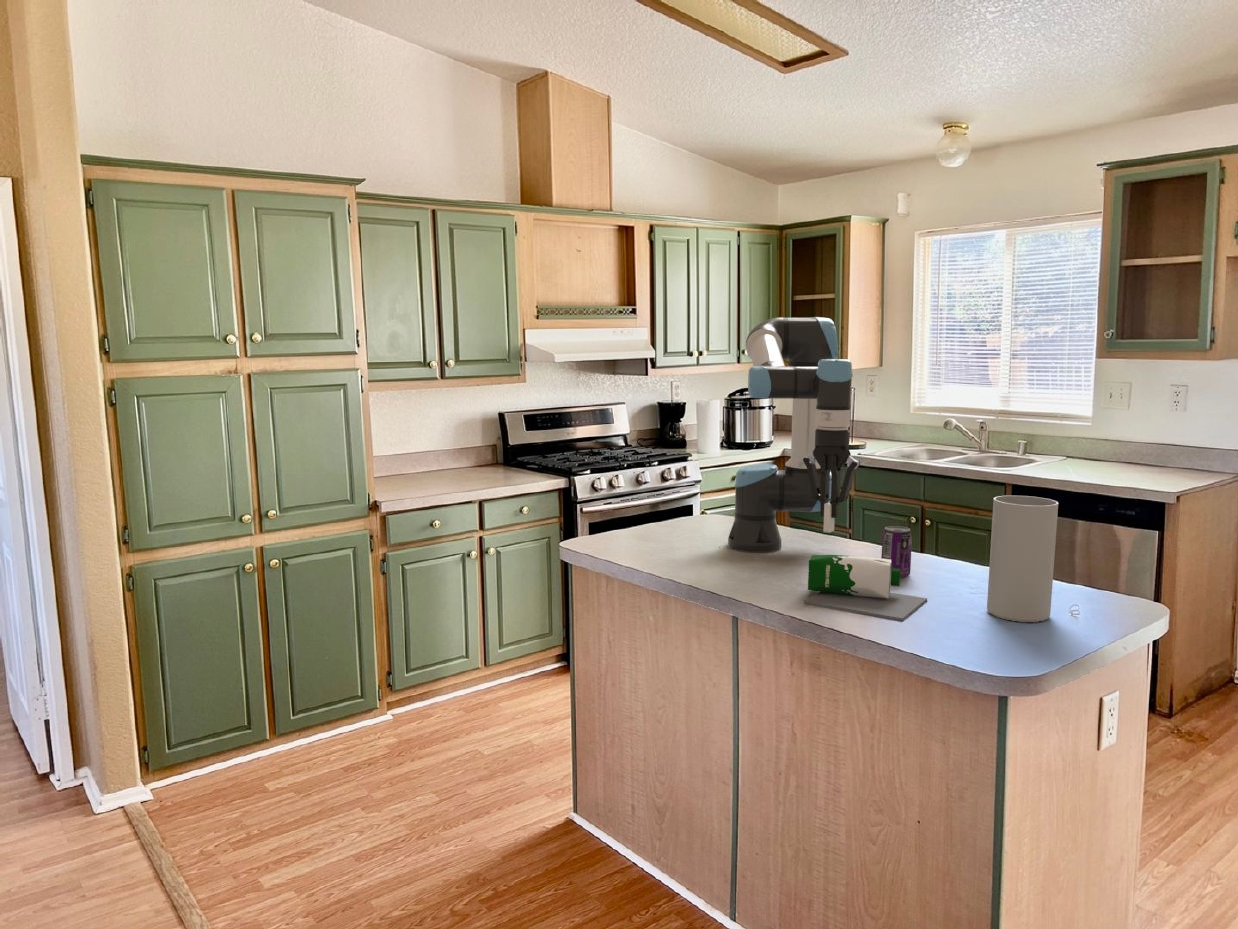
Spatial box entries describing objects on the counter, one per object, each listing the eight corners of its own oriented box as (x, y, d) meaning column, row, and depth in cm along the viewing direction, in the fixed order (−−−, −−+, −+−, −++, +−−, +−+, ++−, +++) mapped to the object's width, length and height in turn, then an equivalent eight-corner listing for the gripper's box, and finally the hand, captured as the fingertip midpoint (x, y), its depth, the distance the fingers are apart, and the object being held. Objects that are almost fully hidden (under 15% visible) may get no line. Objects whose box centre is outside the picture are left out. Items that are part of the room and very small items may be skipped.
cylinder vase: (976, 606, 198) (982, 495, 195) (1030, 605, 199) (1038, 495, 196) (1004, 624, 186) (1012, 506, 183) (1062, 623, 187) (1070, 505, 184)
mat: (804, 603, 200) (804, 600, 200) (834, 585, 215) (834, 583, 215) (902, 621, 188) (902, 618, 188) (927, 601, 203) (927, 598, 203)
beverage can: (911, 579, 220) (914, 532, 219) (881, 578, 222) (884, 531, 220) (908, 572, 227) (910, 526, 226) (879, 571, 229) (881, 525, 227)
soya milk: (811, 586, 213) (899, 594, 207) (806, 594, 204) (898, 603, 198) (812, 550, 212) (901, 557, 206) (808, 557, 204) (900, 564, 197)
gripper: (798, 427, 201) (795, 530, 204) (854, 431, 194) (850, 537, 197) (811, 425, 207) (808, 525, 210) (866, 428, 200) (862, 532, 203)
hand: (828, 531), depth 204 cm, fingers closed
